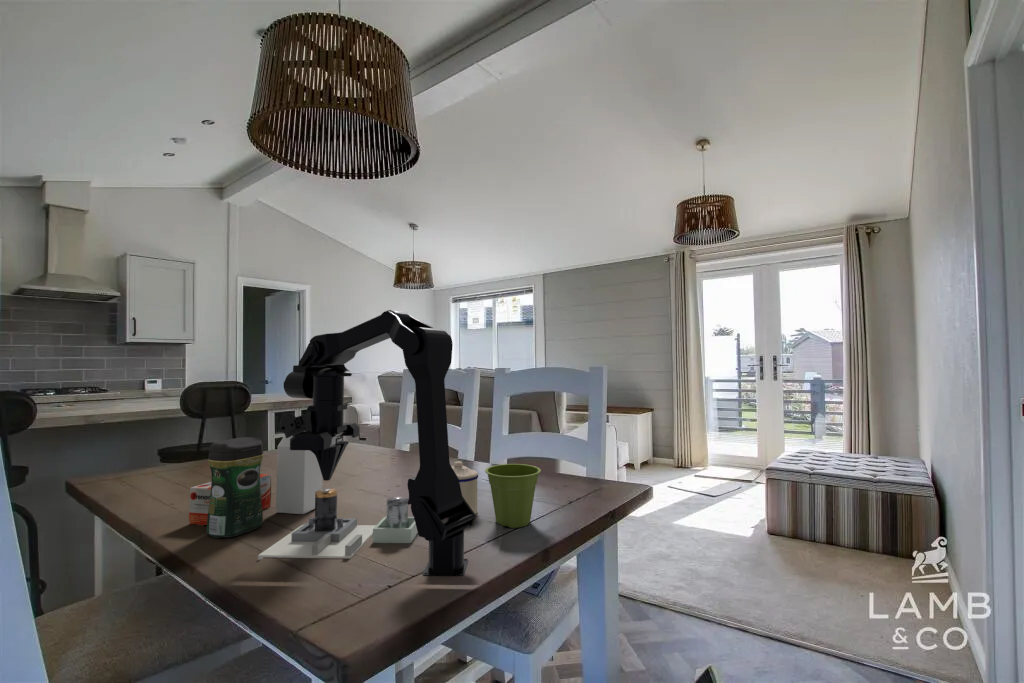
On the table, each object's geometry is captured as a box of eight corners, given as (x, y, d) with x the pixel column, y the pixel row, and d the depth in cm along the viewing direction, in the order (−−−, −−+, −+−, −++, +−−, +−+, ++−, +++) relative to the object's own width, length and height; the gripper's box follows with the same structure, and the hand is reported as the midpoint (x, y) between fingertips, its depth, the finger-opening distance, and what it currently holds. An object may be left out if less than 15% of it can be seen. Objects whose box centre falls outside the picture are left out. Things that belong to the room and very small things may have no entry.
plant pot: (473, 523, 102) (473, 469, 102) (513, 511, 110) (512, 461, 111) (513, 537, 93) (513, 478, 94) (552, 523, 102) (552, 469, 102)
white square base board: (350, 561, 82) (350, 545, 82) (258, 559, 82) (258, 543, 83) (379, 529, 98) (379, 516, 98) (302, 528, 98) (302, 515, 99)
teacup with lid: (484, 510, 111) (484, 459, 112) (469, 522, 102) (469, 467, 103) (436, 506, 114) (436, 456, 115) (418, 517, 106) (418, 463, 106)
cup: (411, 545, 89) (411, 529, 89) (372, 545, 89) (372, 528, 89) (420, 532, 96) (420, 517, 96) (384, 531, 96) (384, 516, 96)
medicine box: (242, 505, 116) (243, 471, 116) (271, 507, 114) (272, 473, 114) (186, 525, 101) (188, 487, 101) (219, 528, 99) (220, 489, 99)
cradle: (335, 537, 90) (335, 523, 90) (301, 537, 90) (302, 523, 90) (348, 526, 96) (348, 513, 96) (316, 526, 97) (317, 513, 97)
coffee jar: (243, 521, 103) (245, 434, 104) (269, 526, 100) (271, 436, 101) (197, 536, 94) (200, 440, 95) (224, 542, 91) (227, 443, 92)
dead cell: (404, 539, 91) (405, 501, 91) (383, 539, 91) (384, 500, 91) (410, 532, 95) (410, 495, 95) (389, 532, 95) (390, 495, 95)
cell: (331, 531, 91) (332, 492, 91) (311, 531, 91) (311, 492, 92) (340, 524, 95) (340, 487, 95) (320, 524, 95) (320, 487, 96)
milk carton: (303, 515, 107) (305, 429, 108) (275, 513, 109) (277, 428, 110) (322, 506, 114) (323, 425, 115) (295, 504, 116) (297, 424, 117)
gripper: (310, 396, 104) (308, 469, 103) (261, 403, 86) (259, 492, 85) (360, 396, 104) (359, 470, 103) (323, 403, 85) (321, 492, 84)
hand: (327, 480), depth 94 cm, fingers closed
